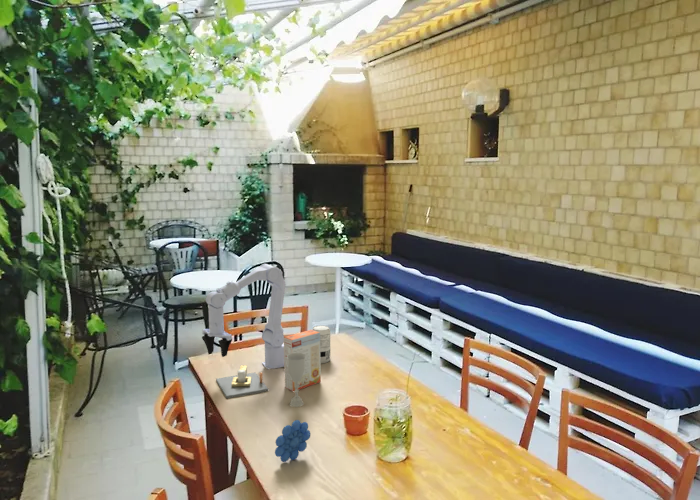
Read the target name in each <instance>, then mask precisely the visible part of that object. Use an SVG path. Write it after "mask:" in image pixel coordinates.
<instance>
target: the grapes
mask: <svg viewBox="0 0 700 500" xmlns="http://www.w3.org/2000/svg"><path fill="white" fill-rule="evenodd" d="M308 429H309V425H308V422H307V421H303V422H301V420H299V419H295V420H293V422H292V423H291V425H290V424H288V425H285V426H283V428H282V430H281V433H282V435H279V436H277V437H276V439H275V445H276V448H275V450H274V454H275V456H276V457H278V458H279V457H280V458H279V459H280V461H281V462H282V463H286V462H287V461H289V460H291V461H294V460H297V458H299V455H300V453H302V452H304V451H305V450H306V449H307V447H308V443H307V441H308V440H309V439H310V438H311V431H310V430H308Z"/></svg>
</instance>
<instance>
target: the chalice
mask: <svg viewBox="0 0 700 500" xmlns="http://www.w3.org/2000/svg"><path fill="white" fill-rule="evenodd" d="M305 357H306V355H305V354H302V353H293V354H289V355H288V356H287V359H288V371H289V373H290V376H291V378H292V380H293V381H295V386H294V387H295V391H294V396H292V398H291V400H290V403H289V406H290V407H293V408H300V407H303V405H305V404H304V402H303V399H302V397H300V395H299V392H300V391H299V390H298V387H299V386H298V381H300V380H301V377H302V375H303V372H304V369H305Z"/></svg>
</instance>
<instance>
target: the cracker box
mask: <svg viewBox="0 0 700 500" xmlns="http://www.w3.org/2000/svg"><path fill="white" fill-rule="evenodd" d="M283 344H284V367H283V368H284V388H285V389H288V390H289V391H292V392H294V391H295V387H294V386H295V381H293V380H292V378H291V376H290V373H289V371H288V359H287V356H288V355H289V354H293V353H302V354H305V355H306V357H305V369H304V372H303V375H302V377H301V380H300V381H298V386H299V387H298V390H303V389H305V388H308V387H310V386H311V387H312V386H313V385H317V384H319V383H321V382H322V381H321V377H322V375H321V374H322V373H321V369H322V368H321V364H322V363H321V361H320V332H317V331H314V330H313V329H309V330H305V331H301V332H298V333H293V334H290V335H289V334H288V335H286V336H284V343H283ZM294 393H295V392H294Z"/></svg>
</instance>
